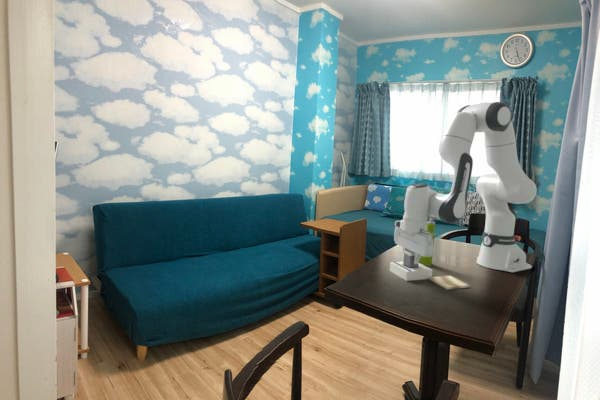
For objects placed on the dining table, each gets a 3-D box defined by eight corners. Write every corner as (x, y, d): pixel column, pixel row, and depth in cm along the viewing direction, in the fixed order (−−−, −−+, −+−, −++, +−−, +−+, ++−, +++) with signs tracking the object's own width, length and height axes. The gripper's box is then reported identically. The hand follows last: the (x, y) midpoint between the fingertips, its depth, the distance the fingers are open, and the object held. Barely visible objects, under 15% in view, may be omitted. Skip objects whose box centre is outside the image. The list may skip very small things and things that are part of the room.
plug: (411, 272, 149) (413, 249, 148) (417, 275, 145) (420, 253, 144) (402, 272, 148) (404, 250, 146) (408, 276, 144) (410, 253, 143)
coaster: (450, 277, 146) (450, 275, 145) (469, 287, 136) (469, 285, 136) (428, 279, 142) (428, 277, 142) (446, 289, 133) (447, 287, 133)
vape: (429, 266, 158) (434, 219, 155) (416, 262, 162) (420, 216, 159) (433, 264, 161) (438, 218, 158) (419, 260, 165) (424, 215, 162)
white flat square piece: (413, 269, 154) (414, 259, 153) (431, 278, 143) (432, 269, 143) (389, 270, 150) (390, 261, 149) (406, 280, 140) (407, 270, 139)
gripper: (439, 232, 135) (435, 269, 137) (406, 220, 154) (403, 253, 156) (424, 233, 133) (420, 270, 135) (392, 220, 152) (389, 254, 154)
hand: (411, 261), depth 146 cm, fingers closed on plug, 4 cm apart
